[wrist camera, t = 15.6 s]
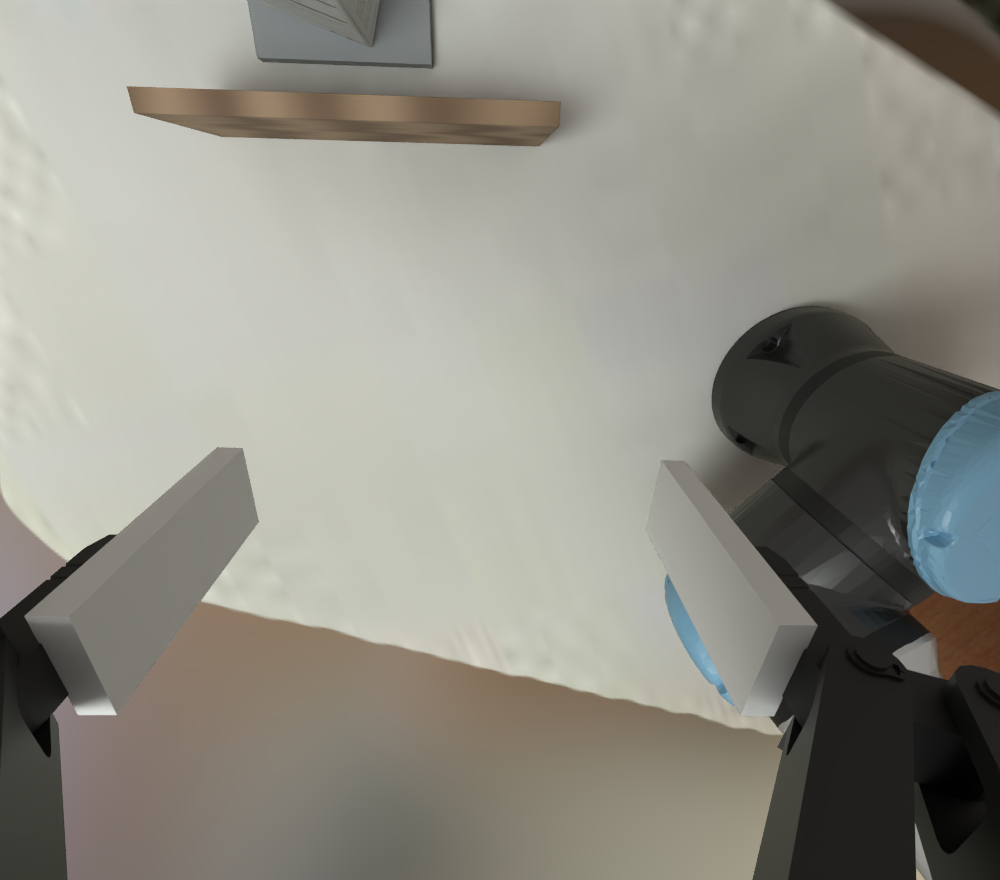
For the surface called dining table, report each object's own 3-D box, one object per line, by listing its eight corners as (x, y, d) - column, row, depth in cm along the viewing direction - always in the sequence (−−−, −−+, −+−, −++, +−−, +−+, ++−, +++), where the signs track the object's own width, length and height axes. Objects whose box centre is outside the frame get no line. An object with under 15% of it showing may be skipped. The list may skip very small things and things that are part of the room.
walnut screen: (539, 127, 36) (560, 101, 27) (538, 146, 36) (559, 126, 27) (217, 117, 34) (126, 86, 25) (221, 136, 35) (133, 112, 26)
